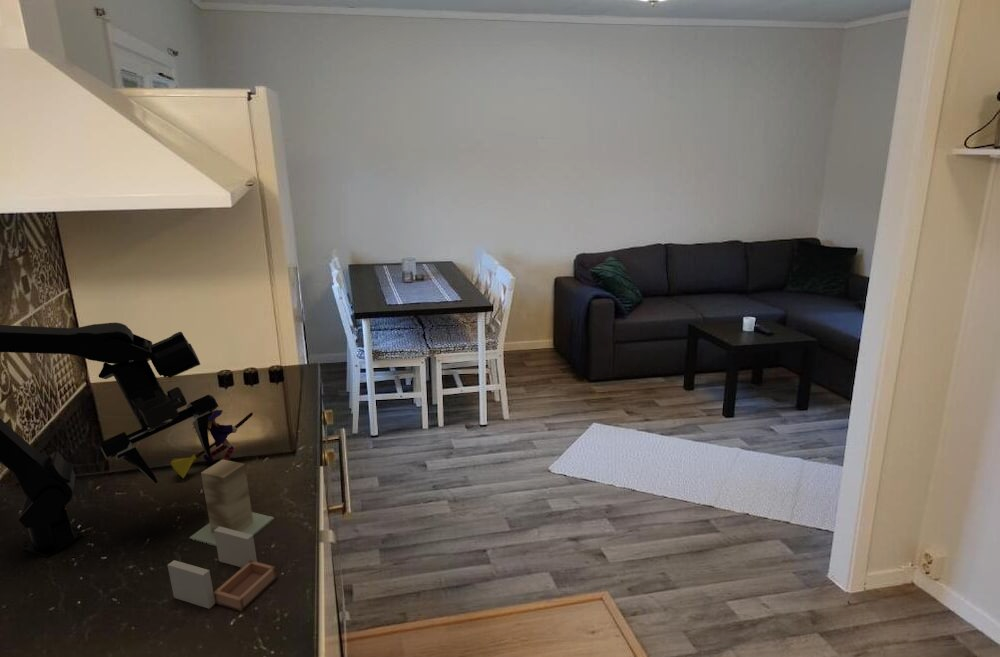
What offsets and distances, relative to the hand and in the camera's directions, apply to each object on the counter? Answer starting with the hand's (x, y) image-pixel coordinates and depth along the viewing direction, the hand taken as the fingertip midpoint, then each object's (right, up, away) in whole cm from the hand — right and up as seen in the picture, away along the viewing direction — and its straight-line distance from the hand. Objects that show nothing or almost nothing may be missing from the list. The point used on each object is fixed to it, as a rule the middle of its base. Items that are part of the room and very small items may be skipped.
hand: (183, 469), depth 110 cm
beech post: (+7, -11, +3) cm, 14 cm away
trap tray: (+16, -16, -12) cm, 26 cm away
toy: (-5, -6, +24) cm, 25 cm away
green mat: (+7, -12, +3) cm, 14 cm away
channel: (+11, -16, -10) cm, 22 cm away
